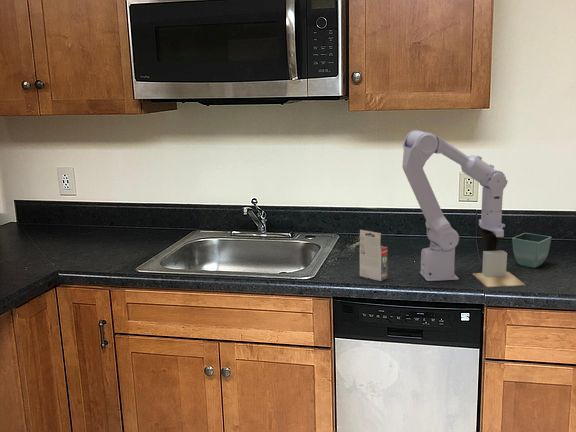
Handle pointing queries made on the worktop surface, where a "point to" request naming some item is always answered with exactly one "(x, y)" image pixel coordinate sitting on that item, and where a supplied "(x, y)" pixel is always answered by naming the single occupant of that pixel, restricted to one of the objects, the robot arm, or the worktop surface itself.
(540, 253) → the flower pot
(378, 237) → the ink box
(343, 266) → the worktop surface
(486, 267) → the slab
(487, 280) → the board
